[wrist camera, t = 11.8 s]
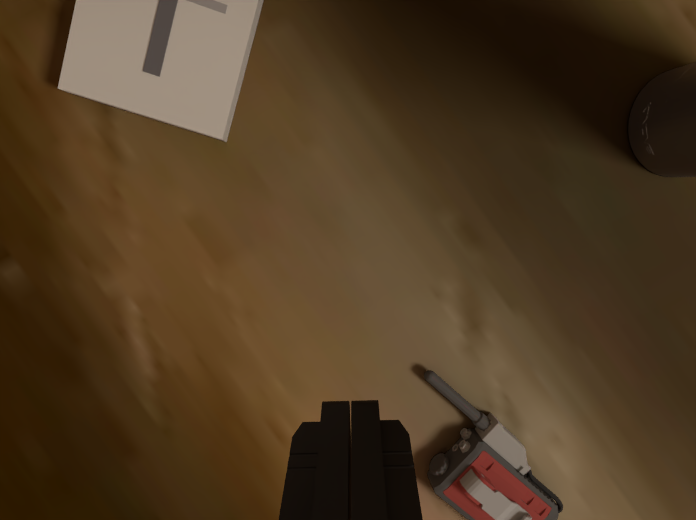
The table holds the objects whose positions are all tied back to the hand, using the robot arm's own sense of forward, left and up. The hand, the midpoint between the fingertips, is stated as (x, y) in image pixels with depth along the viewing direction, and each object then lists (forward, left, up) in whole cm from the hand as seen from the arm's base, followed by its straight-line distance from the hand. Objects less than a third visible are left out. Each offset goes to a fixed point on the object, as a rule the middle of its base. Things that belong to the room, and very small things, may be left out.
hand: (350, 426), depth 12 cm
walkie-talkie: (-11, +22, -28) cm, 37 cm away
